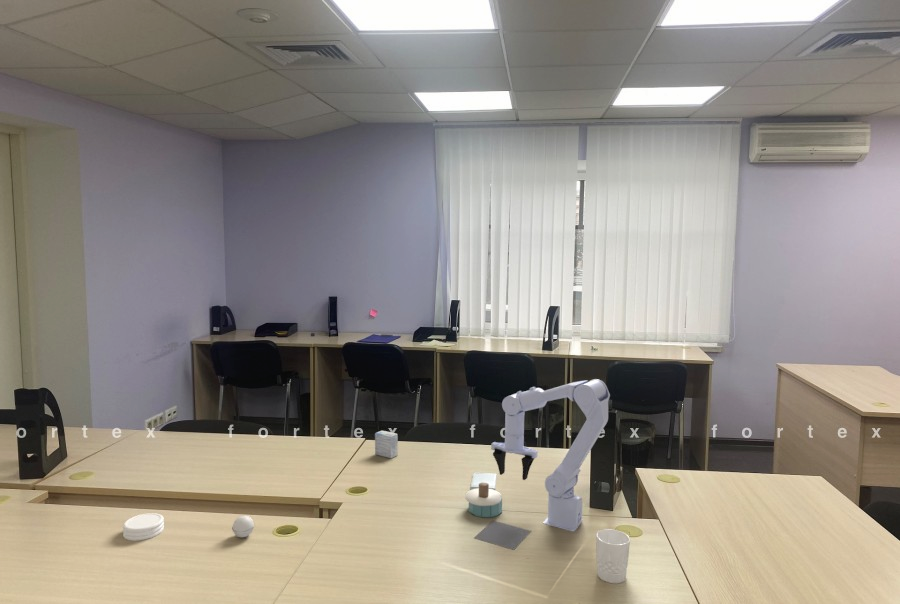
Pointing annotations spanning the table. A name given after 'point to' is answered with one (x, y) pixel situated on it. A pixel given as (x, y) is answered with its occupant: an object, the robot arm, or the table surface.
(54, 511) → the table surface
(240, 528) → the white ball
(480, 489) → the lid
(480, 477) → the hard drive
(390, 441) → the medicine box
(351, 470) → the table surface
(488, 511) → the bowl
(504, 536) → the mat
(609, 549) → the white cup
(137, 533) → the coaster
